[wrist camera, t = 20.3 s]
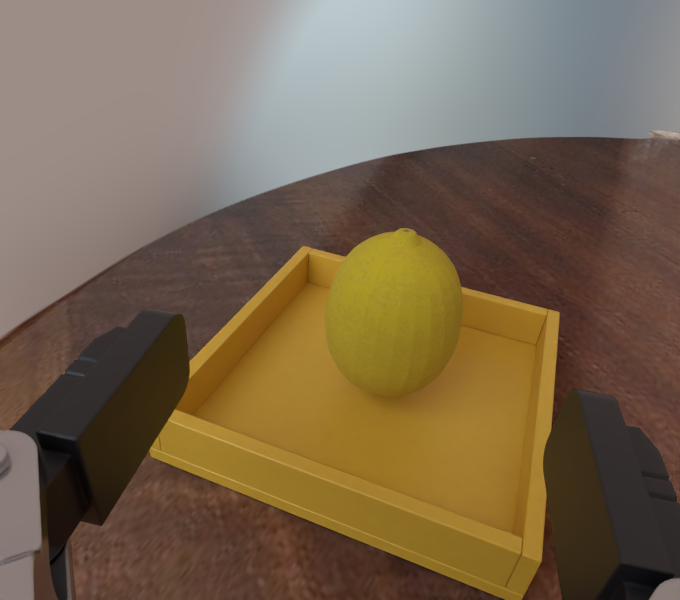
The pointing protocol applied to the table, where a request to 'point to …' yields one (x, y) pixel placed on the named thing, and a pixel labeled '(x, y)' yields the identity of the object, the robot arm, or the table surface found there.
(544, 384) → the yellow tray
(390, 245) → the lemon
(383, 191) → the table surface
